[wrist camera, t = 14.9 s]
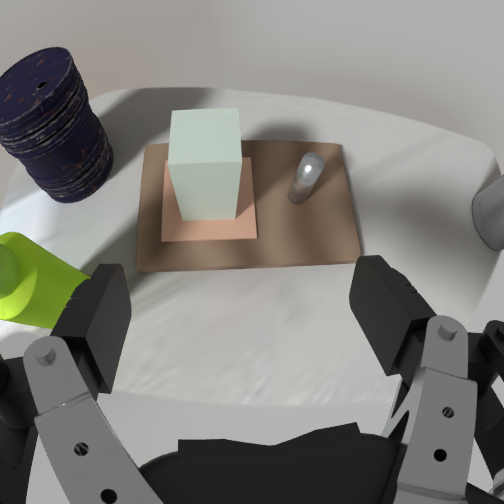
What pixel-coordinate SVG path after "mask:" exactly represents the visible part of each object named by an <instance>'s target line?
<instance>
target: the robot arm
mask: <svg viewBox="0 0 504 504" xmlns="http://www.w3.org/2000/svg"><path fill="white" fill-rule="evenodd" d="M472 213H473V218H474V222H475V225H476V227H477V230H478V232H479V234H480V235H481V237H482V239H483V240H484V241H485V242H486V244H488V245H489V246H490V247H491V248H493V249H495V250H503V249H504V175H503V176H501V177H500V178H499V179H497V180H496V181H494V182H493V183H492V184H490V185H489V186H488V187H486V188H485V189H484V190H482V191H481V192H479V193H478V194H477V195H476V196H475V197H474V199H473V203H472ZM349 302H350V307H351V310H352V312H353V313H354V315H355V317H356V319H357V321H358V323H359V325H360V326H361V328H362V330H363V332H364V334H365V336H366V338H367V339H368V341H369V343H370V345H371V347H372V349H373V351H374V353H375V355H376V357H377V359H378V360H379V362H380V364H381V366H382V368H383V370H384V372H385V374H386V376H390V375H395V374H399V373H400V375H401V377H402V378H401V380H400V382H399V384H398V387H397V391H396V394H395V397H394V401H393V404H392V407H391V410H390V413H389V417H388V420H387V422H386V425H385V428H384V430H383V432H382V434H381V436H379V435H375V434H366V433H360V430H359V428H358V425H357V423H356V422H354V423H350V424H345V425H340V426H335V427H329V428H323V429H318V430H314V431H312V432H309V433H307V434H304V435H302V436H299V437H296V438H294V439H291V440H288V441H286V442H283V443H280V444H277V445H271V446H268V445H259V444H252V443H245V442H238V441H232V440H226V439H209V440H208V439H207V440H178V451H176V452H171V453H168V454H165V455H162V456H159V457H157V458H155V459H152V460H150V461H149V462H147V463H146V464H144V465H142V466H141V467H139V468H138V466H137V465H136V464H135V462H134V461H133V459H132V458H131V456H130V455H129V454H128V452H127V451H126V449H125V448H124V446H123V445H122V443H121V442H120V440H119V439H118V437H117V436H116V434H115V433H114V431H113V429H112V428H111V426H110V424H109V423H108V421H107V419H106V418H105V416H104V414H103V413H102V411H101V409H100V407H99V406H98V404H97V402H96V401H97V397H98V393H107V394H111V392H112V388H113V383H114V379H115V375H116V371H117V367H118V363H119V359H120V356H121V352H122V348H123V344H124V341H125V337H126V334H127V330H128V327H129V323H130V320H131V301H130V297H129V293H128V288H127V284H126V279H125V275H124V270H123V267H122V265H121V264H99V265H98V267H97V268H96V270H95V272H94V274H93V275H92V277H91V279H85V280H84V281H83V282H82V283H81V284H79V285H78V286H77V287H76V288H75V290H74V291H73V293H72V295H71V297H70V300H68V302H67V304H66V306H65V308H64V309H63V311H62V313H61V315H60V317H59V319H58V321H57V322H56V324H55V326H54V328H53V330H52V332H51V334H50V336H46V337H43V338H40V339H38V340H36V341H34V342H33V343H32V344H31V345H30V346H29V347H28V348H27V349H26V351H25V353H24V356H23V357H18V358H12V359H6V360H4V359H3V358H2V356H1V354H0V504H26V496H27V489H28V483H29V477H30V471H31V466H32V461H33V456H34V451H35V446H36V442H37V438H38V433H39V435H40V438H41V441H42V443H43V446H44V448H45V451H46V453H47V456H48V458H49V460H50V463H51V465H52V467H53V470H54V472H55V474H56V476H57V478H58V480H59V482H60V484H61V486H62V488H63V490H64V492H65V494H66V496H67V498H68V500H69V502H70V504H504V408H503V406H502V404H501V402H500V401H499V399H498V397H497V396H496V394H495V392H494V390H493V389H492V387H491V385H492V384H493V383H494V381H495V380H496V378H497V377H498V375H500V377H501V378H502V380H503V382H504V322H501V321H498V320H493V321H490V322H488V323H487V325H486V327H485V329H484V331H483V333H470V332H467V331H466V329H465V328H464V326H463V325H462V324H461V323H460V322H458V321H457V320H455V319H453V318H451V317H448V316H442V315H439V316H437V315H436V313H435V312H434V311H433V310H432V308H431V307H430V306H429V305H428V303H427V302H426V301H425V300H424V298H423V297H422V296H421V295H420V294H419V293H417V290H416V289H415V288H414V286H412V285H411V283H410V282H409V281H408V279H407V278H406V277H405V276H404V275H403V274H401V273H400V272H398V271H397V270H395V269H394V268H391V267H390V266H389V265H388V263H387V262H386V261H385V260H384V259H383V258H382V257H381V256H380V255H369V256H359V257H358V259H357V261H356V266H355V271H354V275H353V280H352V284H351V289H350V294H349ZM474 438H475V440H476V442H477V444H478V446H479V449H480V451H481V453H482V455H483V458H484V460H485V462H486V465H487V467H488V469H489V472H490V474H491V477H492V479H493V488H492V489H490V490H489V492H488V493H487V492H485V491H483V490H481V489H479V488H478V487H476V486H474V485H472V484H470V483H468V482H467V478H468V473H469V467H470V461H471V455H472V447H473V439H474Z"/></svg>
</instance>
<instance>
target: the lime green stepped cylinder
mask: <svg viewBox="0 0 504 504" xmlns="http://www.w3.org/2000/svg"><path fill="white" fill-rule="evenodd" d="M85 279H91V277H89V276H87V275H86V274H84V273H82V272H81V271H79V270H77V269H76V268H74V267H72V266H71V265H69V264H67V263H66V262H64V261H63V260H61V259H59V258H58V257H56V256H55V255H53V254H51V253H50V252H48V251H47V250H45V249H44V248H42V247H41V246H39V245H38V244H36V243H35V242H33V241H32V240H30V239H29V238H27V237H26V236H24V235H22V234H20V233H17V232H8V233H5V234H2V235H1V236H0V320H5V321H10V322H15V323H20V324H26V325H31V326H37V327H43V328H49V329H53V328H54V326H55V324H56V322H57V321H58V319H59V317H60V315H61V313H62V311H63V309H64V308H65V306H66V304H67V302H68V300H70V297H71V295H72V293H73V291H74V290H75V288H76V287H77V286H78V285H79V284H81V283H82V282H83V281H84V280H85Z"/></svg>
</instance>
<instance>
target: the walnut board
mask: <svg viewBox="0 0 504 504" xmlns="http://www.w3.org/2000/svg"><path fill="white" fill-rule="evenodd" d="M309 152H314V153H317V154H319V155H320V156H321V157H322V158H323V159H324V162H325V166H324V168H323V170H322V172H321V174H320V176H319V177H318V179H317V181H316V183H315V185H314V186H313V188H312V190H311V192H310V194H309V195H308V197H307V199H306V201H305V202H304V203H303V204H300V205H296V204H293V203H292V202H290V200H289V199H288V196H287V194H288V191H289V189H290V186H291V184H292V181H293V179H294V177H295V174H296V172H297V170H298V167H299V165H300V163H301V160H302V158H303V156H304V155H305V154H306V153H309ZM168 153H169V143H165V144H152V145H145V153H144V161H143V170H142V180H141V190H140V202H139V215H138V231H137V252H136V269H137V270H138V271H139V272H170V271H198V270H224V269H248V268H271V267H292V266H312V265H331V264H349V263H356V261H357V259H358V257H359V256H361V252H360V246H359V240H358V234H357V229H356V223H355V218H354V213H353V208H352V203H351V198H350V193H349V188H348V184H347V179H346V175H345V170H344V166H343V162H342V157H341V153H340V149H339V145H338V144H333V143H318V142H296V141H241V153H242V158H243V157H251V169H252V181H253V194H254V207H255V220H256V232H257V239H233V240H205V241H180V242H161V235H162V208H163V188H164V173H165V160H168Z"/></svg>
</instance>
